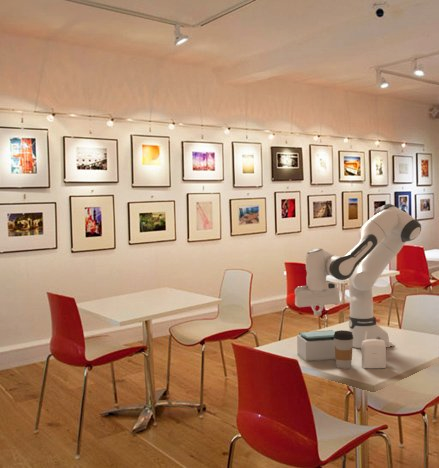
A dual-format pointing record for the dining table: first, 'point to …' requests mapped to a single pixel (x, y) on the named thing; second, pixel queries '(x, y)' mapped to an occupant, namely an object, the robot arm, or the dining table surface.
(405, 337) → the dining table surface
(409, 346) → the dining table surface
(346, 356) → the coffee cup
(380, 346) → the photo printer
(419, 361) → the dining table surface
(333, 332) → the cover
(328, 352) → the white box
